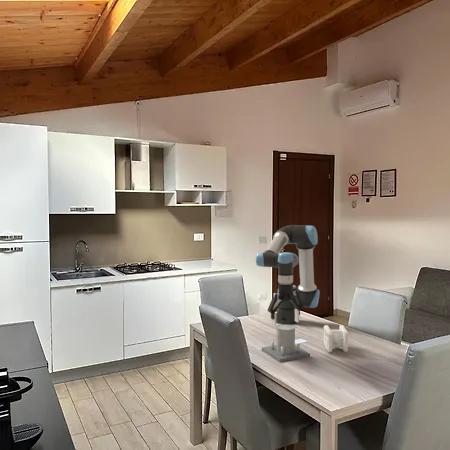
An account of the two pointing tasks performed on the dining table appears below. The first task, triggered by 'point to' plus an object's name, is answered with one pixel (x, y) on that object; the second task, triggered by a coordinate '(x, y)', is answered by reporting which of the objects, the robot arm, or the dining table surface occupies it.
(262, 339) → the dining table surface
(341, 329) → the cable organizer
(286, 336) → the gray cylinder
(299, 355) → the pin tray
